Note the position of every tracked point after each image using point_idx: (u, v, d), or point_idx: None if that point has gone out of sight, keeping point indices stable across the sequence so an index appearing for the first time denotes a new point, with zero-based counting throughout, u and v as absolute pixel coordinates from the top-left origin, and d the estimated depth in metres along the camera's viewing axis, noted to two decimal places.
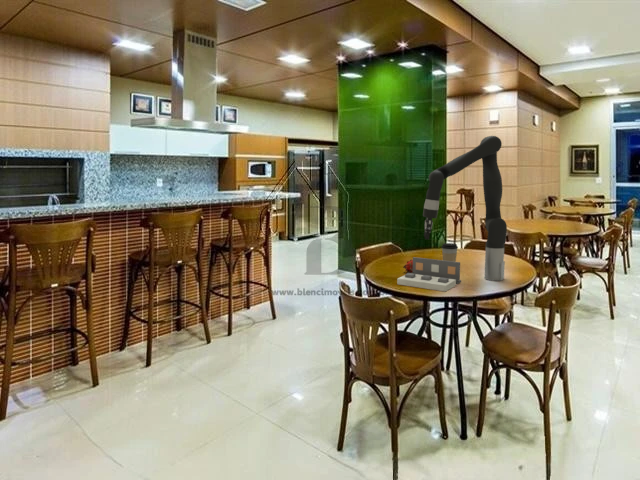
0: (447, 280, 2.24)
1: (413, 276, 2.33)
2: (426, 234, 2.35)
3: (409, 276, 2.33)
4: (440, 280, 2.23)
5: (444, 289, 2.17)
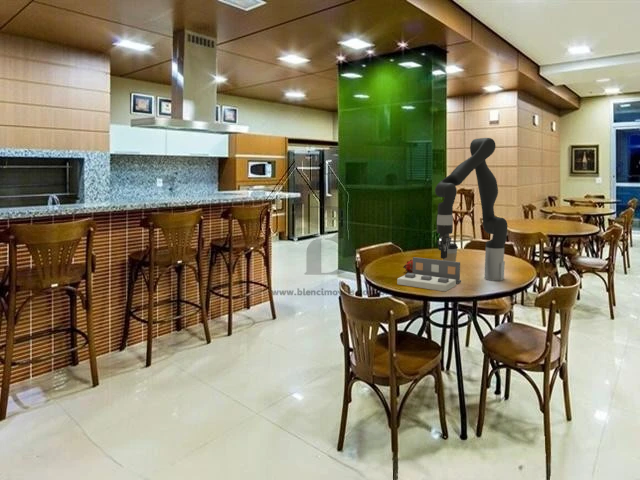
0: (447, 280, 2.24)
1: (413, 276, 2.33)
2: (441, 253, 2.21)
3: (409, 276, 2.33)
4: (440, 280, 2.23)
5: (444, 289, 2.17)
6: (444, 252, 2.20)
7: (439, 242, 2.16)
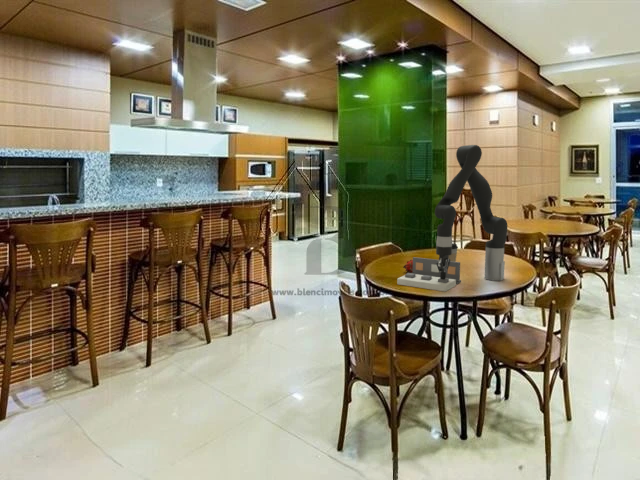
0: (447, 280, 2.24)
1: (413, 276, 2.33)
2: (441, 274, 2.23)
3: (409, 276, 2.33)
4: (440, 280, 2.23)
5: (444, 289, 2.17)
6: (444, 273, 2.23)
7: (438, 264, 2.18)
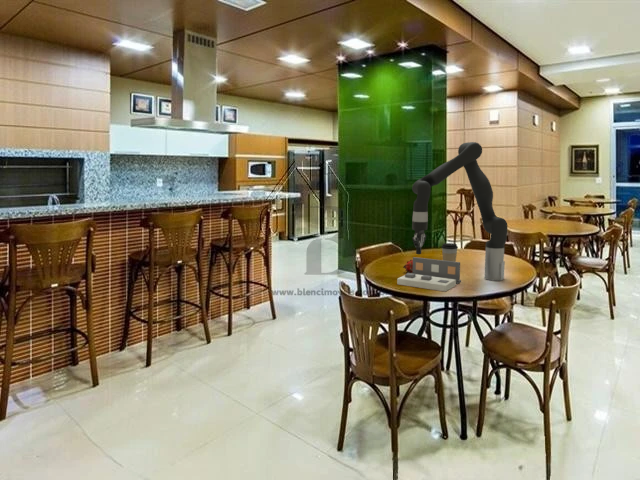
0: None
1: (413, 276, 2.33)
2: (416, 249, 2.28)
3: (409, 276, 2.33)
4: None
5: (444, 289, 2.17)
6: (419, 248, 2.28)
7: (414, 239, 2.23)
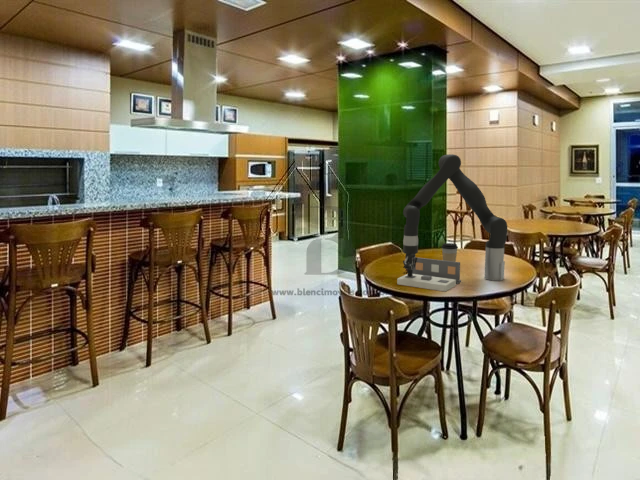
0: None
1: None
2: None
3: None
4: None
5: (444, 289, 2.17)
6: (410, 270, 2.33)
7: (405, 262, 2.29)
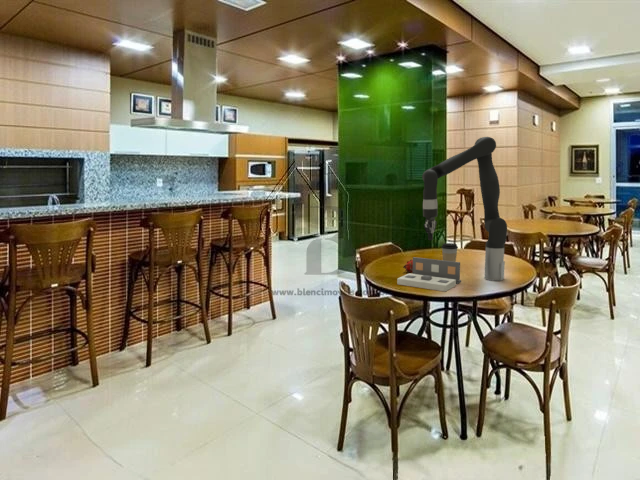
0: None
1: None
2: (428, 235, 2.38)
3: None
4: None
5: (444, 289, 2.17)
6: (431, 234, 2.38)
7: (425, 225, 2.33)
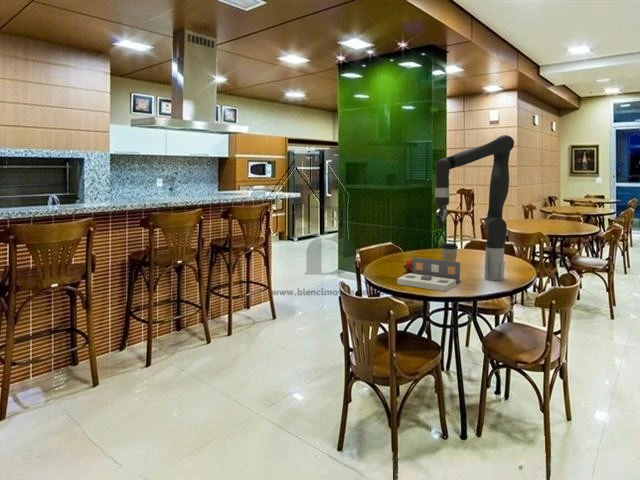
0: None
1: None
2: (439, 223, 2.42)
3: None
4: None
5: (444, 289, 2.17)
6: (442, 222, 2.42)
7: (437, 213, 2.37)
